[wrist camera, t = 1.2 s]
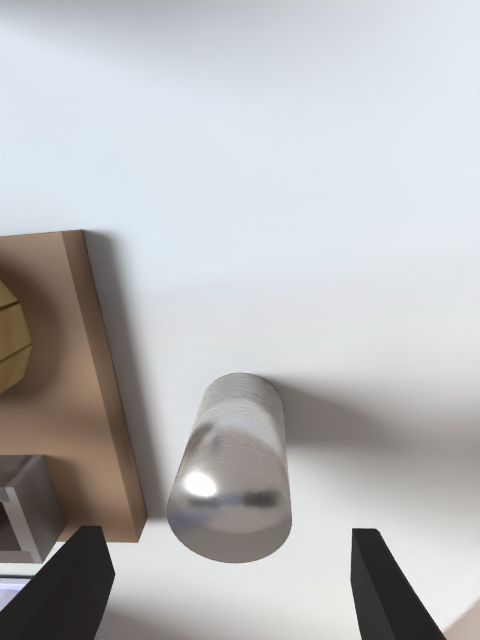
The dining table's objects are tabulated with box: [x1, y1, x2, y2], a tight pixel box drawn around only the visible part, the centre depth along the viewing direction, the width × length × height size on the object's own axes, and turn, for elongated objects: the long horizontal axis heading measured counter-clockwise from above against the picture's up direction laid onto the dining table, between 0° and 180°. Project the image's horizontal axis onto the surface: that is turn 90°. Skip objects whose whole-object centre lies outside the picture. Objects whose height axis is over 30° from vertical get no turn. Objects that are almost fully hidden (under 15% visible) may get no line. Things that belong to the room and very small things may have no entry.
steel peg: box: [167, 373, 292, 563], centre depth 13 cm, size 4×4×6 cm
